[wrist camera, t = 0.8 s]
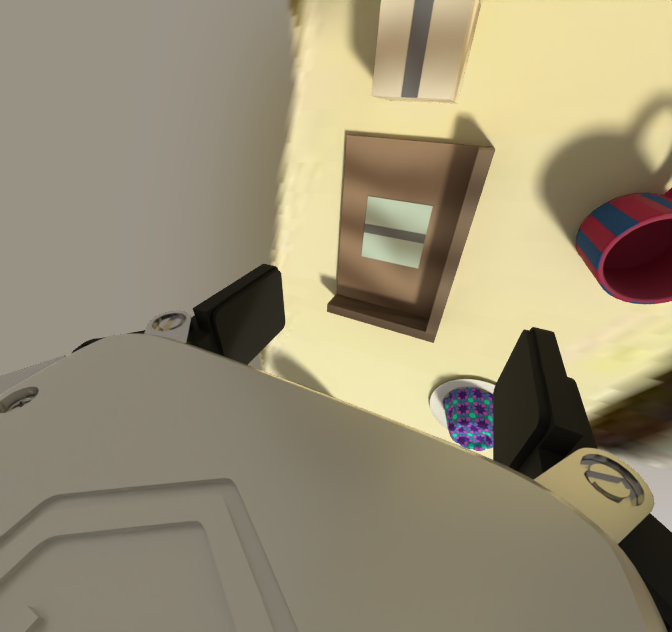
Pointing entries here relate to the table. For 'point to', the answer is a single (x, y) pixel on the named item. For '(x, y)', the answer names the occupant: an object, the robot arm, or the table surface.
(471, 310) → the table surface
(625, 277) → the mug
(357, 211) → the wooden tray
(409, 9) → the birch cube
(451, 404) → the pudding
